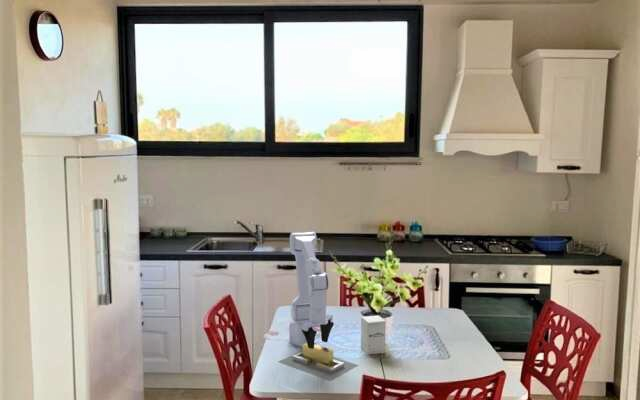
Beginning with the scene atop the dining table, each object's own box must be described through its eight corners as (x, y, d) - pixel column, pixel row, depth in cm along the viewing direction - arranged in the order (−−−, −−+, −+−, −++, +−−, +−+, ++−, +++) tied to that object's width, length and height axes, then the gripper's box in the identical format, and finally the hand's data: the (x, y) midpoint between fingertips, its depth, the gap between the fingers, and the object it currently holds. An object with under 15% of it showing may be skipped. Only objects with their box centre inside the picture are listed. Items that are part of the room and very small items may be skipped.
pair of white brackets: (292, 359, 186) (292, 355, 186) (305, 353, 192) (305, 349, 191) (331, 373, 175) (331, 369, 174) (344, 366, 180) (344, 362, 180)
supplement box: (367, 355, 191) (367, 322, 190) (360, 348, 198) (360, 316, 197) (385, 353, 193) (386, 320, 192) (378, 346, 200) (378, 314, 199)
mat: (278, 362, 185) (278, 361, 185) (307, 349, 197) (307, 348, 197) (330, 382, 169) (330, 380, 169) (358, 366, 182) (358, 365, 182)
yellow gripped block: (302, 360, 186) (302, 344, 185) (307, 357, 188) (307, 341, 187) (328, 369, 178) (328, 352, 178) (333, 366, 180) (333, 350, 180)
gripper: (313, 315, 173) (313, 354, 174) (339, 304, 184) (339, 341, 185) (297, 310, 177) (297, 348, 179) (324, 301, 189) (324, 336, 190)
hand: (317, 344), depth 183 cm, fingers open, 7 cm apart
